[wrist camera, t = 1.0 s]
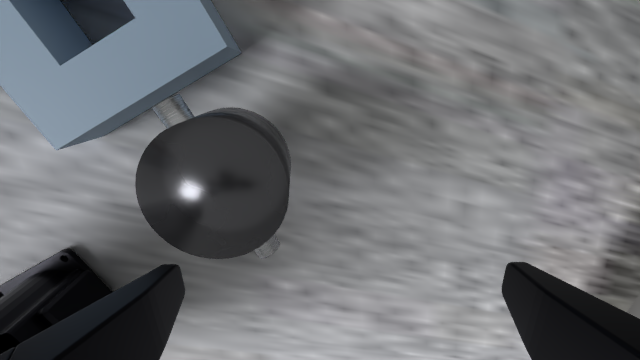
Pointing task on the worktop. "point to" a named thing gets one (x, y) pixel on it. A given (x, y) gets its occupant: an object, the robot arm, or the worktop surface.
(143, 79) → the block
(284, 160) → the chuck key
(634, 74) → the worktop surface
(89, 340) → the robot arm
